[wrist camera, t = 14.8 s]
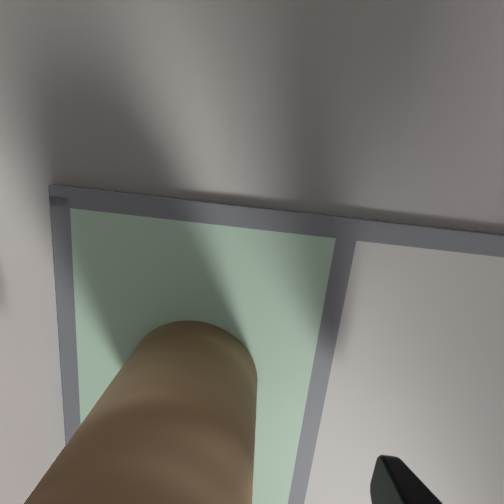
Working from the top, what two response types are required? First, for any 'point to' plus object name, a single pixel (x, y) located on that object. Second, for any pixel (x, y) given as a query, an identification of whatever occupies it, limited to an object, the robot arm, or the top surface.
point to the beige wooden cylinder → (166, 427)
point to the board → (301, 333)
